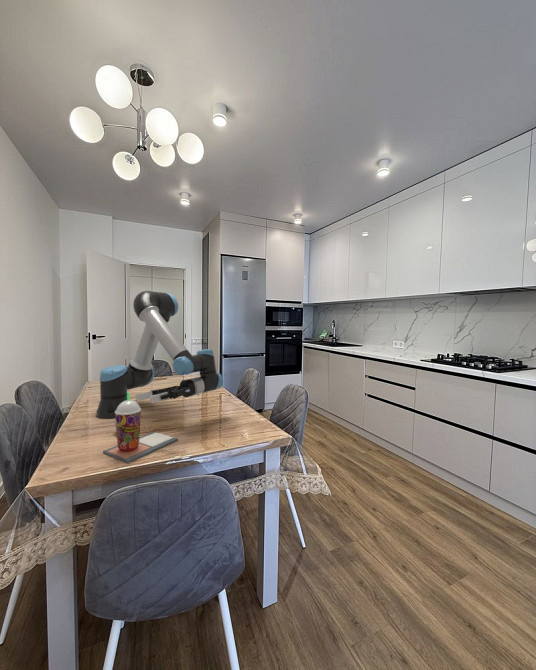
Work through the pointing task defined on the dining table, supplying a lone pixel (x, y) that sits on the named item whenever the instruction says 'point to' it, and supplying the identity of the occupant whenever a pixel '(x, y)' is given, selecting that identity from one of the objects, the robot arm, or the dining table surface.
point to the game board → (142, 447)
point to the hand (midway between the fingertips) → (143, 398)
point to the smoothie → (128, 425)
